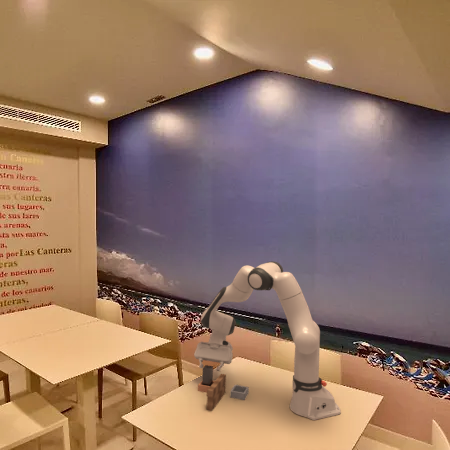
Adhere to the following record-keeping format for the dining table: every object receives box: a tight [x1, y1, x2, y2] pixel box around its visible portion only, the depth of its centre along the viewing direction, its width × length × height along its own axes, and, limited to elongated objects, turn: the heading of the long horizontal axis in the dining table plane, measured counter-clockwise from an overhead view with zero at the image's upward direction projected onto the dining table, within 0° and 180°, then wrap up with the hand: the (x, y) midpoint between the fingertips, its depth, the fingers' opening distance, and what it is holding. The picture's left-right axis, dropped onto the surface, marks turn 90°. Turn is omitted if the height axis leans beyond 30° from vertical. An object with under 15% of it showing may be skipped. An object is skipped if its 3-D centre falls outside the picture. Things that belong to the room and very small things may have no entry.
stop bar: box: [201, 364, 214, 386], centre depth 176 cm, size 4×4×11 cm
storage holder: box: [229, 384, 250, 401], centre depth 171 cm, size 7×7×3 cm
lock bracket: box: [197, 380, 216, 394], centre depth 177 cm, size 7×7×3 cm
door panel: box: [206, 373, 227, 412], centre depth 165 cm, size 18×4×9 cm, turn 160°
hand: (209, 369), depth 178 cm, fingers open, 8 cm apart
